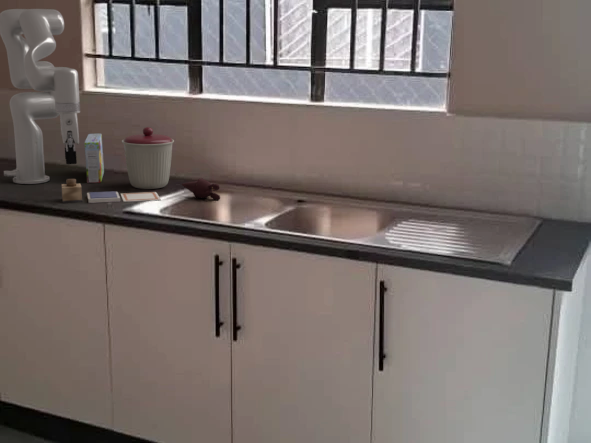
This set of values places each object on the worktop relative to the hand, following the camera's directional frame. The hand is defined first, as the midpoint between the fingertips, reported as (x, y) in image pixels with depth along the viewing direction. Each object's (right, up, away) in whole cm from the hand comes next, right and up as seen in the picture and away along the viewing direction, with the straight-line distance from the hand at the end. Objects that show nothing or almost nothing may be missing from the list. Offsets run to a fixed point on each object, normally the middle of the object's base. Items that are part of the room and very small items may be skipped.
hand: (70, 161), depth 265 cm
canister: (+20, -7, +27) cm, 35 cm away
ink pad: (+9, -12, +6) cm, 16 cm away
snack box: (-2, -3, +41) cm, 41 cm away
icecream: (+41, -12, +11) cm, 43 cm away
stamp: (-1, -12, +4) cm, 13 cm away
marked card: (+21, -11, +10) cm, 25 cm away
